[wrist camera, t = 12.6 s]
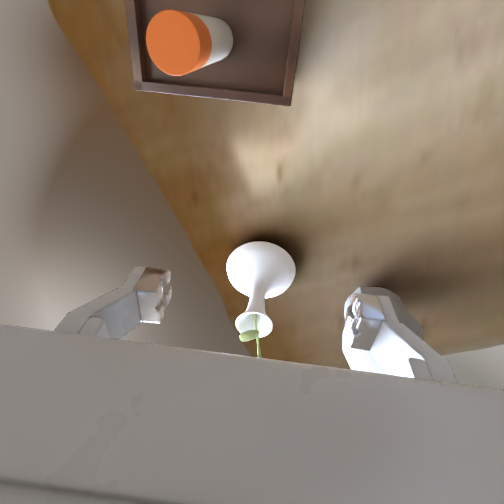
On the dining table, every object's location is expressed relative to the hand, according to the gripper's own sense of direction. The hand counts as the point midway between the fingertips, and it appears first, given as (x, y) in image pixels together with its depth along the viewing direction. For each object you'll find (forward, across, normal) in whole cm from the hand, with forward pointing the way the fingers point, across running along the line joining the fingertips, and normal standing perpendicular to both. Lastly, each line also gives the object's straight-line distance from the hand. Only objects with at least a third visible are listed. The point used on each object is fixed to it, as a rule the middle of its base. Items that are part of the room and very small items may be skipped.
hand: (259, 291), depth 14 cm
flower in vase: (+33, 0, +24) cm, 41 cm away
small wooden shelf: (+33, +6, -9) cm, 35 cm away
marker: (+21, +6, -9) cm, 24 cm away
